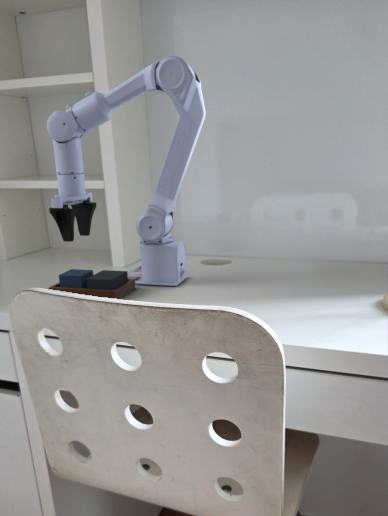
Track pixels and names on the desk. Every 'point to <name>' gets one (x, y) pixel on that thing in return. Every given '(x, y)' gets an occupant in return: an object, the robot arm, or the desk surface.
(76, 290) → the pad tray
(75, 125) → the robot arm
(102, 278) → the charcoal pad
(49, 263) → the desk surface
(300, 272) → the desk surface
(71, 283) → the navy blue cube
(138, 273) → the smartphone
